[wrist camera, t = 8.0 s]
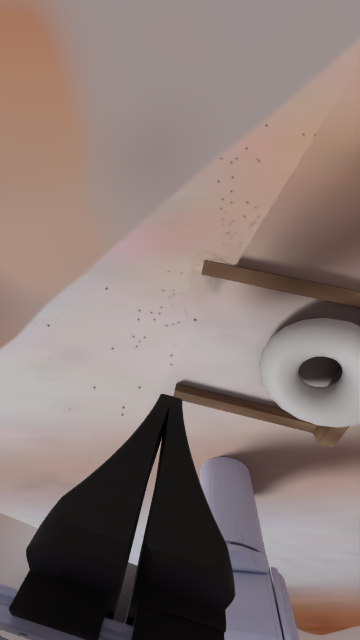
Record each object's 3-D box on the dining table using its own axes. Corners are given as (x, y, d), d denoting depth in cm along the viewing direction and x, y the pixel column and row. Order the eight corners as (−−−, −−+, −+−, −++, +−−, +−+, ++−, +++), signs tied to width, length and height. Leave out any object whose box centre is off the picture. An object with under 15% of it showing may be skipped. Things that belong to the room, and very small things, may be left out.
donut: (261, 319, 16) (429, 325, 12) (261, 313, 19) (394, 315, 15) (257, 420, 18) (399, 453, 14) (257, 399, 21) (374, 421, 17)
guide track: (319, 426, 22) (333, 447, 20) (174, 391, 23) (171, 406, 21) (405, 301, 16) (438, 309, 14) (204, 259, 17) (204, 261, 15)
